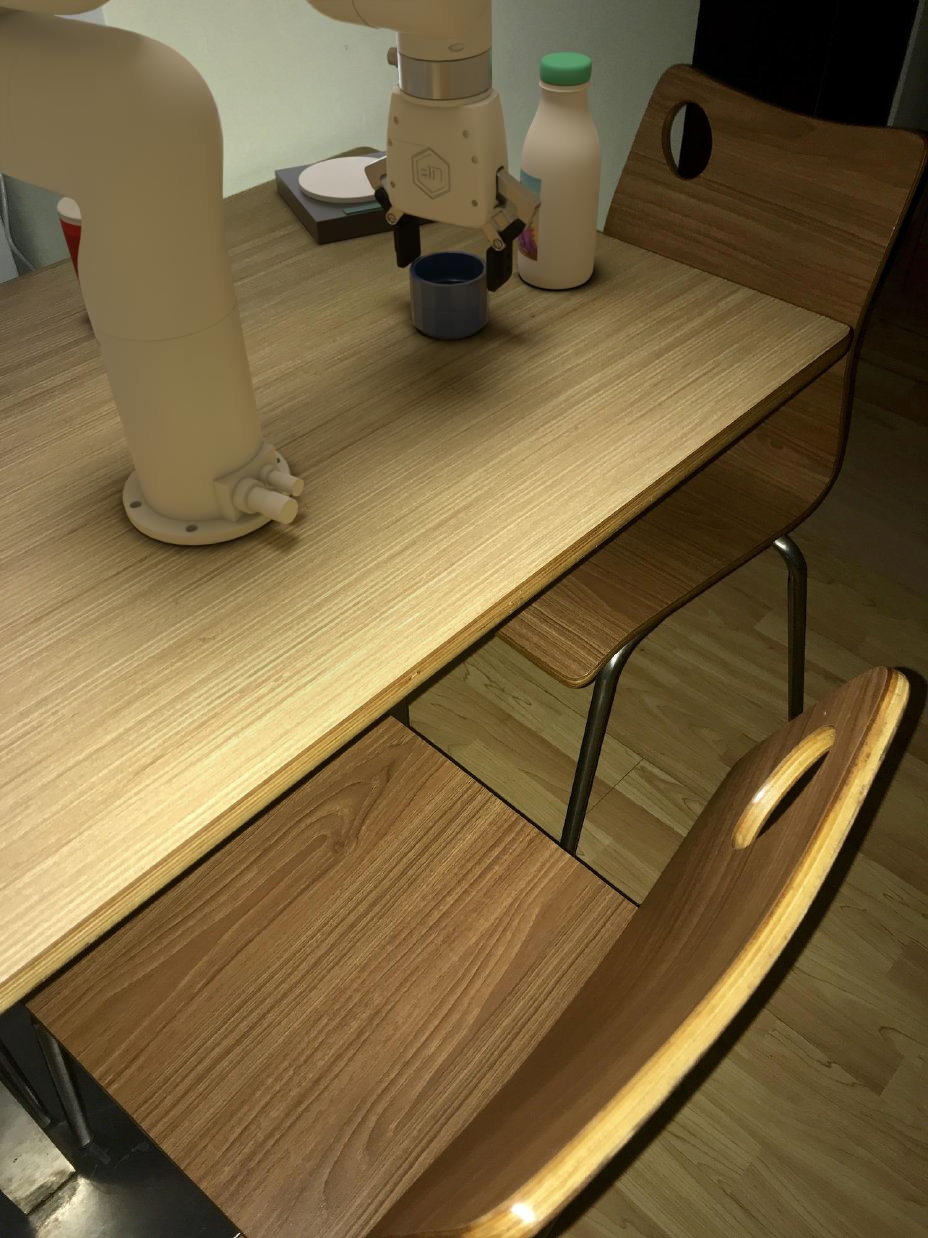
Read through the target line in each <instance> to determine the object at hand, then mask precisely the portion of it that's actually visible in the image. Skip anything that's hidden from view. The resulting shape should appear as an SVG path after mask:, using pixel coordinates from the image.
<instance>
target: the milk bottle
mask: <svg viewBox="0 0 928 1238" xmlns="http://www.w3.org/2000/svg"><path fill="white" fill-rule="evenodd" d="M592 71H593V62H592V59H591V58H590V56H587V55H586V54H583V53H579V52H571V51H561V52H554V53H549V54H546V55H544V56H543V57H542V58H541V59H540V63H539V78H540V79H539V87H540V88H541V95H540V99H539V104H538V107H537V110H536V113H535V115H534V116H533V117H534V118H533V120H532V122H531V124H530V126H529V129H528V131H527V133H526V136H525V139H524V141H523V146H522V152H521V158H520V174H519V182H520V183H521V184H523V185H524V186H525V187H526V188H527V189H529V190H530V191H531V192H532V193H534V194H535V195H536V196H537V197H538V198H539V199H540V201H541V206H540V208H539V209H538V211H537V213H536V215H535V217H534V219H533V220H532V221H531V225H530V227H528V228H527V229H526V230H525V231H524V232H523V233H521V234H520V235H519V236H518V237H517V239H518V240H517V272H518V275H519V276H520V277H521V279H522V280H523V281H524V282H526V283H528V284H529V285H532V286H534V287H537V288H541V289H548V290H549V289H550V290H563V289H564V290H565V289H570V288H575V287H579V286H581V285H583V284H585V283H586V282H587V281H589V279H590V277H591V276H592V274H593V272H594V265H595V255H596V254H595V253H596V242H597V231H598V230H597V228H598V215H599V201H600V188H601V169H602V154H601V143H600V139H599V135H598V132H597V128H596V125H595V122H594V120H593V117H592V114H591V109H590V106H589V98H588V90H589V88H590V86H591V85H592V84H591V77H592Z"/></svg>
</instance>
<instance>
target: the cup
mask: <svg viewBox="0 0 928 1238" xmlns="http://www.w3.org/2000/svg"><path fill="white" fill-rule="evenodd" d="M408 274H409V277H408V278H409V293H410V295H409V296H410V311H411V321H412V323H413V325H414V327H415V328H417V329H418V330H420V332H421V333H423V334H425V335H427V336H429V337H432V338H436V339H439V340H457V339H463V338H467V337H470V336H472V335H475V334H476V333H478V332H479V331H481V329H482V328H484V327H485V326H486V325H487V324H488V320H489V317H490V316H489V315H490V304H489V303H490V301H489V300H490V295H489V294H490V291H488V289H487V286H486V259H484V258H483V257H481V256H479V255H477V254H475V253H471V252H466V251H462V250H441V251H433V252H429V253H426V254H424V255H420V257H419V258H417V259H416V260H415V261H413V262H412V263H411V264H410V266H409V269H408Z"/></svg>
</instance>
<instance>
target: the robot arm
mask: <svg viewBox="0 0 928 1238" xmlns="http://www.w3.org/2000/svg"><path fill="white" fill-rule="evenodd" d="M110 1H111V0H0V173H1V174H3V175H5V176H8V177H10V178H12V179H16V180H18V181H21V182H23V183H26V184H30V185H33V186H35V187H39V188H41V189H45V190H46V191H47V190H48V191H51V192H53V193H56V194H58V195H61V196H63V197H68V198H71V199H73V200H74V201H75V202H76V203H77V205H78V207H79V210H80V214H81V223H82V224H81V238H80V245H79V252H78V275H79V282H80V285H79V288H80V287H81V288H80V291H81V295H82V299H83V302H84V306H85V309H86V313H87V316H88V319H89V321H90V324H91V328H92V331H93V334H94V337H95V341H96V343H97V344H96V345H97V347H98V350H99V351H98V352H99V353H100V357H101V361H102V364H103V367H104V370H105V373H106V376H107V380H108V382H109V387H110V390H111V393H112V397H113V401H114V403H115V406H116V409H117V412H118V417H119V419H120V422H121V426H122V429H123V433H124V436H125V439H126V442H127V446H128V449H129V453H130V456H131V460H132V463H133V465H134V466H133V467H134V469H133V471H132V472H131V473H130V475H129V476H128V478H127V479H126V481H125V483H124V486H123V490H122V504H123V507H124V510H125V513H126V516H127V518H128V519H129V521H130V523H131V524H132V525H133V526H134V527H135V528H136V529H137V530H138V531H139V532H141V533H143V534H144V535H146V536H148V537H150V538H151V539H154V540H158V541H160V542H163V543H168V544H175V545H180V546H181V545H182V546H203V545H213V544H219V543H223V542H226V541H231V540H234V539H237V538H240V537H243V536H245V535H248V534H250V533H252V532H253V531H256V530H258V529H260V528H262V527H263V526H264V525H266V524H267V523H268V522H270V521H272V520H273V521H275V522H278V523H280V524H283V525H289V524H290V523H292V522H293V521H294V520H295V518H296V516H297V515H298V510H299V503H298V501H297V499H295V498H296V497H299V496H300V495H301V494H302V493H303V490H304V487H305V483H304V479H301V478H299V477H296V476H294V475H291V469H290V466H289V464H288V462H287V460H286V459H285V457H284V456H283V455H282V453H280V452H279V451H277V450H276V448H275V445H274V444H271V443H269V442H266V441H264V438H263V432H262V427H261V422H260V416H259V409H258V405H257V401H256V400H257V399H256V394H255V390H254V384H253V380H252V372H251V368H250V363H249V362H250V361H249V356H248V352H247V347H246V342H245V337H244V336H245V335H244V331H243V326H242V320H241V315H240V310H239V304H238V299H237V294H236V288H235V283H234V277H233V272H232V265H231V260H230V254H229V248H228V247H229V246H228V242H227V241H228V239H227V233H226V225H225V212H224V211H225V210H224V159H225V157H224V155H225V154H224V153H225V152H224V149H225V148H224V147H225V146H224V131H223V123H222V118H221V113H220V109H219V105H218V103H217V100H216V97H215V96H214V93H213V91H212V89H211V87H210V85H209V84H208V82H207V81H206V79H205V77H204V76H203V75H202V74H201V72H200V71H199V70H198V69H197V68H196V67H195V65H194V64H193V63H192V62H190V61H189V59H188V58H186V57H185V56H184V55H182V54H181V53H180V52H179V51H177V50H176V49H174V48H173V47H171V46H169V45H167V44H165V43H163V42H162V41H160V40H157V39H155V38H153V37H150V36H149V35H145V34H142V33H140V32H136V31H134V30H129V29H124V28H120V27H116V26H111V25H107V24H102V23H97V22H93V21H88V20H85V19H76V18H67V17H62V16H75V15H81V14H85V13H89V12H93V11H96V10H98V9H100V8H102V7H104V6H105V5H107V4H108V3H110ZM305 2H306V4H308V5H309V6H310V7H311V8H312V9H313V10H315V11H316V12H317V13H318V14H320V15H322V16H324V17H326V18H328V19H330V20H333V21H336V22H340V23H342V24H343V23H345V24H348V25H354V26H359V27H364V28H369V29H375V30H385V31H390V32H395V41H396V46H390V47H389V49H388V50H387V54H386V60H387V64H388V65H389V66H393V67H395V68H396V69H397V77H398V83H397V84H395V85H394V86H393V87H391V90H390V95H389V104H388V112H387V122H386V144H385V145H386V147H385V151H386V156H385V157H382V158H380V159H378V160H376V161H374V162H372V163H370V164H369V165H367V166H366V167H365V169H364V171H365V174H366V176H367V178H368V180H369V182H370V185H371V187H372V189H374V191H375V192H374V196H375V199H376V200H377V202H378V203H379V204H380V206H381V207H382V208H383V209H384V211H385V212H386V213H387V214H386V219H387V221H388V223H390V224H391V225H393V230H392V233H393V245H394V251H395V256H396V257H395V258H396V266H397V268H400V269H405V268H407V267H409V265H411V264H412V262H413V261H415V260H416V259H418V258H419V257H421V256H422V245H421V244H422V243H421V228H420V225H419V218H418V217H421V218H425V219H429V220H433V221H435V222H438V223H441V224H447V225H451V226H454V227H459V228H464V229H468V230H469V229H471V230H473V229H474V230H475V229H480V230H481V231H482V233H483V234H484V236H485V237H486V239H487V240H488V242H489V243H490V246H489V247H488V248H487V249H486V250H485V251H486V252H485V261H486V286H487V289H488V291H489V292H490V293H496V292H497V291H498V290H499V289H500V288H501V287H503V286H504V285H505V284H506V283H507V282H509V280H510V278H511V277H512V275H513V271H514V270H513V269H514V268H513V265H514V264H513V263H514V262H513V261H514V259H513V257H514V252H513V251H514V249H513V248H514V241H515V240H516V239H518V236H519V235H520V234H521V233H523V232H524V231H525V230H526V229H527V228H528V227H530V225H531V221H532V220H533V219H534V217H535V215H536V213H537V211H538V209H539V208H540V206H541V201H540V199H539V198H538V197H537V196H536V195H535V194H534V193H532V192H531V191H530V190H529V189H527V188H526V187H525V186H524V185H523V184H521V183H520V180H518V179H517V178H516V177H514V176H513V175H511V174H510V172H509V156H508V155H509V154H508V144H507V134H506V132H507V131H506V126H505V124H506V123H505V118H504V112H503V107H502V102H501V96H500V93H499V90H498V89H495V88H493V34H492V33H493V18H492V15H493V14H492V12H493V11H492V9H493V8H492V0H305ZM509 202H510V203H511V204H512V205H514V206H515V208H516V214H515V217H514V218H513V219H512V218H511V216H510V215H509V213H508V211H507V210H506V209H507V207H508V204H509ZM79 282H78V283H79ZM291 496H293V497H295V498H293V497H291Z"/></svg>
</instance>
